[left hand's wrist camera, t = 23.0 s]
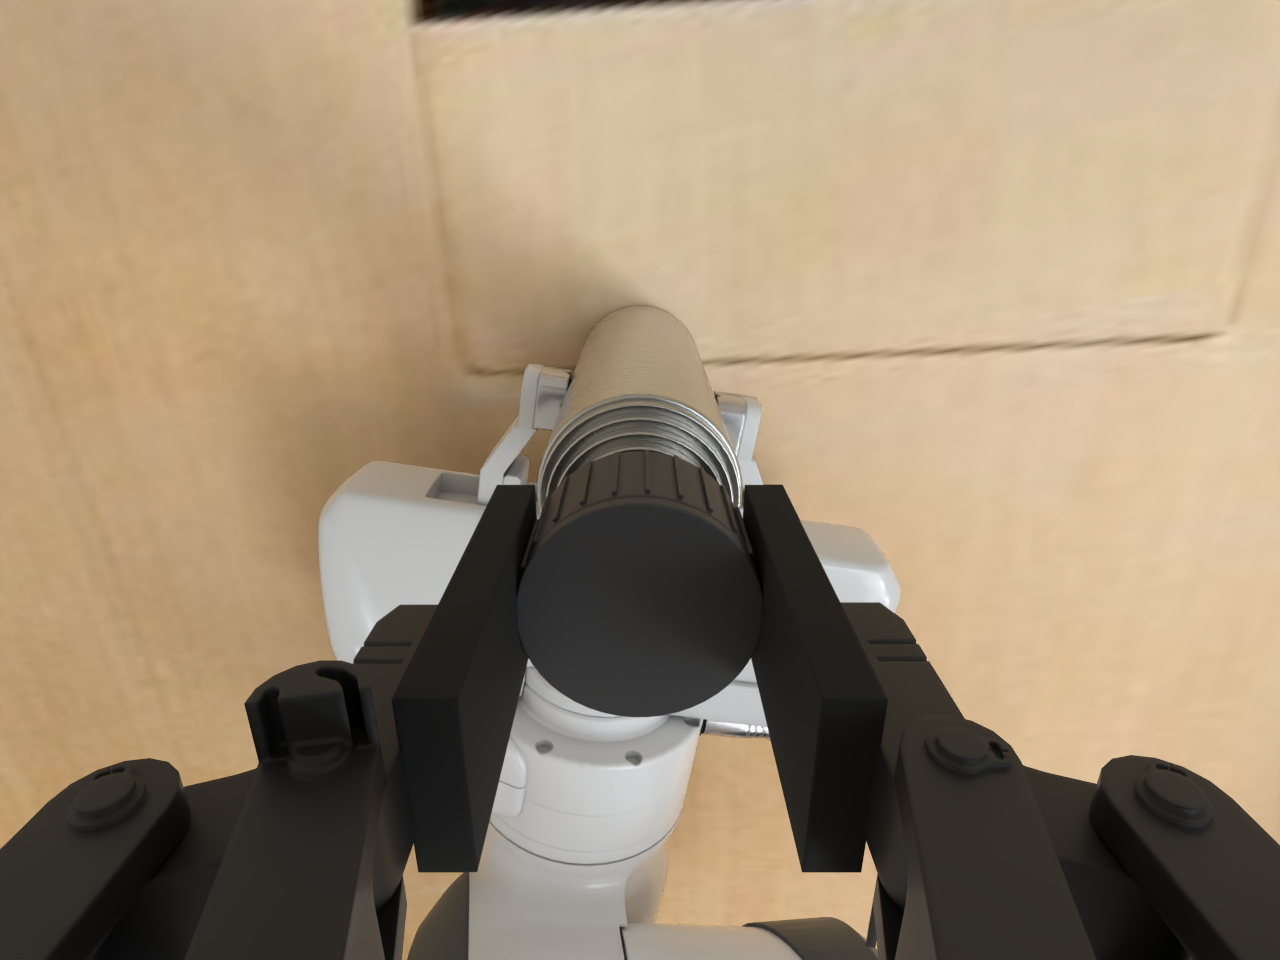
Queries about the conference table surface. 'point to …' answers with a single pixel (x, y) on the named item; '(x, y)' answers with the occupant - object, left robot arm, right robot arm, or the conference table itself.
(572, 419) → the bottle
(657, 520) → the cap
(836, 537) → the right robot arm
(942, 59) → the conference table surface
